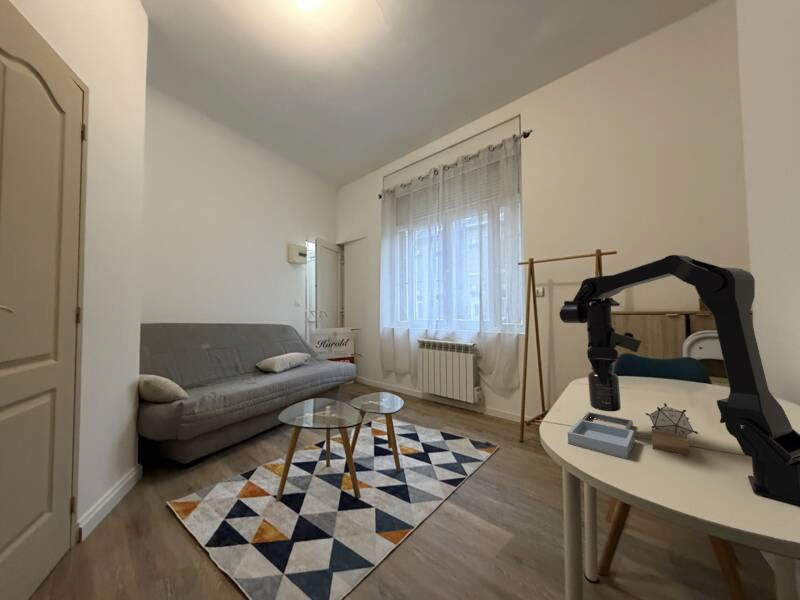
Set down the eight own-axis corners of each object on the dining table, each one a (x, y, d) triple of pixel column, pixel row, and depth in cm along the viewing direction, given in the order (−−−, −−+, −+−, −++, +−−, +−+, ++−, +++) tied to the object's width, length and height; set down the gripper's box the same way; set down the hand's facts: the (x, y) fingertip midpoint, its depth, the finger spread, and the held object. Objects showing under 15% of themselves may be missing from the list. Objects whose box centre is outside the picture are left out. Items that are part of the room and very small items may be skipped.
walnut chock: (689, 457, 62) (688, 441, 62) (652, 449, 66) (651, 434, 66) (688, 450, 65) (687, 435, 65) (652, 443, 69) (651, 428, 69)
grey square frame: (627, 438, 71) (627, 432, 72) (579, 427, 79) (579, 421, 79) (632, 426, 79) (632, 420, 79) (588, 417, 86) (588, 412, 86)
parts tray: (627, 459, 62) (627, 446, 62) (568, 443, 70) (567, 432, 70) (634, 441, 70) (633, 430, 70) (580, 429, 78) (579, 419, 78)
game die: (668, 456, 69) (642, 424, 69) (656, 431, 76) (632, 402, 77) (714, 447, 64) (686, 412, 65) (697, 421, 72) (672, 389, 72)
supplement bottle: (588, 402, 82) (586, 360, 83) (618, 405, 79) (615, 361, 80) (591, 410, 76) (588, 364, 77) (623, 413, 73) (620, 365, 74)
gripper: (642, 324, 67) (647, 393, 66) (632, 322, 82) (637, 377, 81) (585, 325, 73) (589, 387, 72) (586, 322, 88) (590, 374, 87)
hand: (603, 381), depth 78 cm, fingers closed on supplement bottle, 7 cm apart
